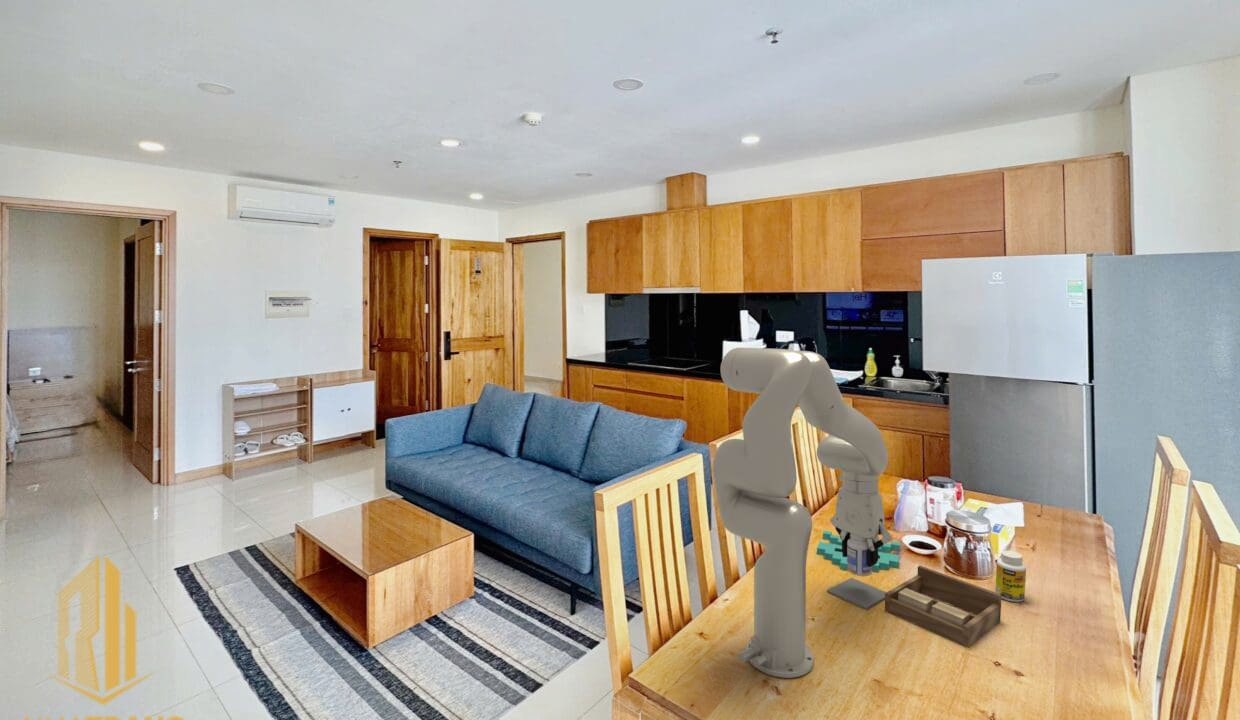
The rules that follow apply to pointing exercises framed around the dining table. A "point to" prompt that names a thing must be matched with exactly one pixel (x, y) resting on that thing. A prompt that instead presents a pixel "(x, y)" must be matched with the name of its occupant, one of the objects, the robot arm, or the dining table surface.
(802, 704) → the dining table surface
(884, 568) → the alien figure
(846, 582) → the rubber coaster
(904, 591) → the offcut
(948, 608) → the offcut
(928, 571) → the walnut rack
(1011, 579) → the supplement bottle
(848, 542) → the pill bottle
